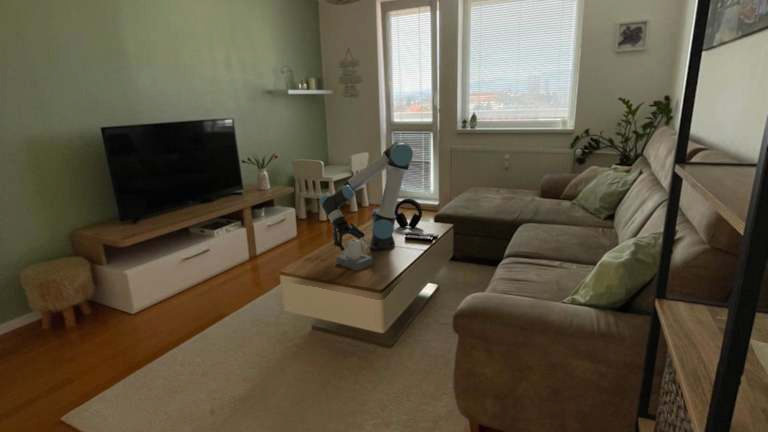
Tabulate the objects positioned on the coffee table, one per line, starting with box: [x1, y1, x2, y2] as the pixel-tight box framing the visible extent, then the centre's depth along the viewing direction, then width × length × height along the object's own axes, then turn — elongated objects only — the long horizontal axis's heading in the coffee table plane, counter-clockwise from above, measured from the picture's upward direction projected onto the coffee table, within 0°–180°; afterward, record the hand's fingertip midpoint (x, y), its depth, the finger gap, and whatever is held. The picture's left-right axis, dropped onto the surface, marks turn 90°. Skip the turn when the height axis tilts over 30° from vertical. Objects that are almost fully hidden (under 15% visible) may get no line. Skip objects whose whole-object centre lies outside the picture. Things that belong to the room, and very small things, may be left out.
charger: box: [346, 238, 362, 261], centre depth 228 cm, size 5×5×12 cm
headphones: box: [394, 198, 423, 229], centre depth 293 cm, size 19×7×20 cm, turn 73°
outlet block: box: [336, 253, 374, 272], centre depth 230 cm, size 16×12×4 cm
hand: (357, 251), depth 227 cm, fingers open, 13 cm apart
